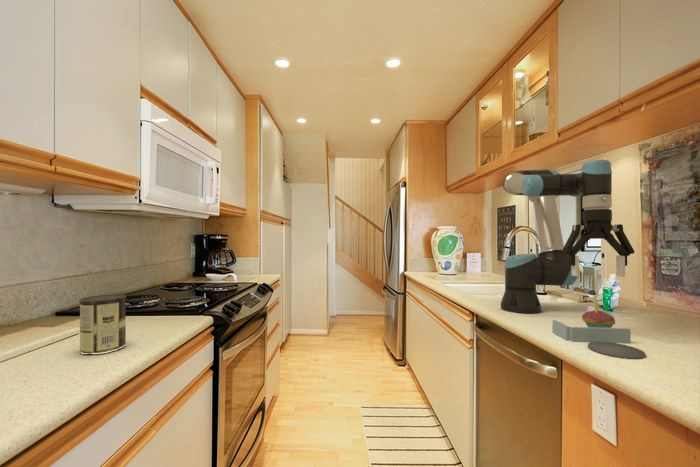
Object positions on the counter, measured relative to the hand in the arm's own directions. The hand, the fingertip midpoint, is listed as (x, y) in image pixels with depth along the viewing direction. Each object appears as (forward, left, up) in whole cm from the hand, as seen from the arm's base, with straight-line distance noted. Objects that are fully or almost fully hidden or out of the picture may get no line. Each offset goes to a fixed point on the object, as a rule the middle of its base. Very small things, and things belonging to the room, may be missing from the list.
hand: (597, 276), depth 106 cm
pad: (+17, -6, -18) cm, 25 cm away
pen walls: (+5, -5, -18) cm, 20 cm away
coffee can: (+28, -144, -18) cm, 148 cm away
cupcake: (0, 0, -18) cm, 18 cm away
